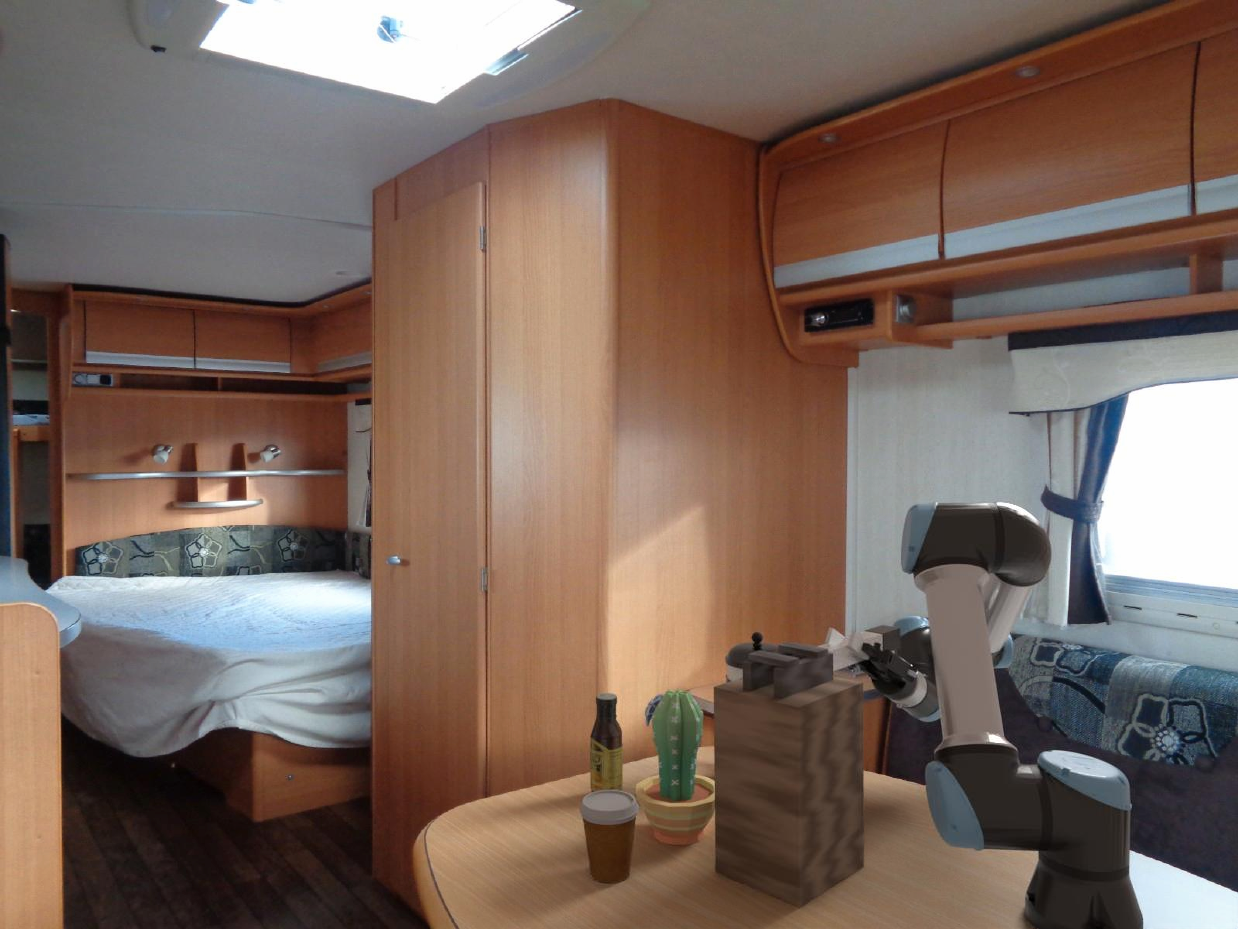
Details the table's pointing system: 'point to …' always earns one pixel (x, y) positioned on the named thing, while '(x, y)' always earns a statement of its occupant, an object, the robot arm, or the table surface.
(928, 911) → the table surface
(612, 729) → the sauce bottle
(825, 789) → the walnut post
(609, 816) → the disposable coffee cup
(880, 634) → the white bar dark ends
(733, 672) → the coffee press
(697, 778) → the potted cactus
